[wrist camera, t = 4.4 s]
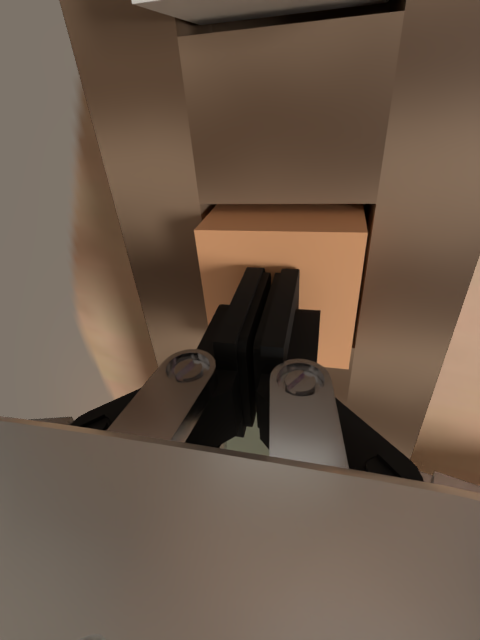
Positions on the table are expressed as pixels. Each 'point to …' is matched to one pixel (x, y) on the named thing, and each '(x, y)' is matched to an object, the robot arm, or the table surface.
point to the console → (300, 164)
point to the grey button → (242, 8)
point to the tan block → (290, 261)
